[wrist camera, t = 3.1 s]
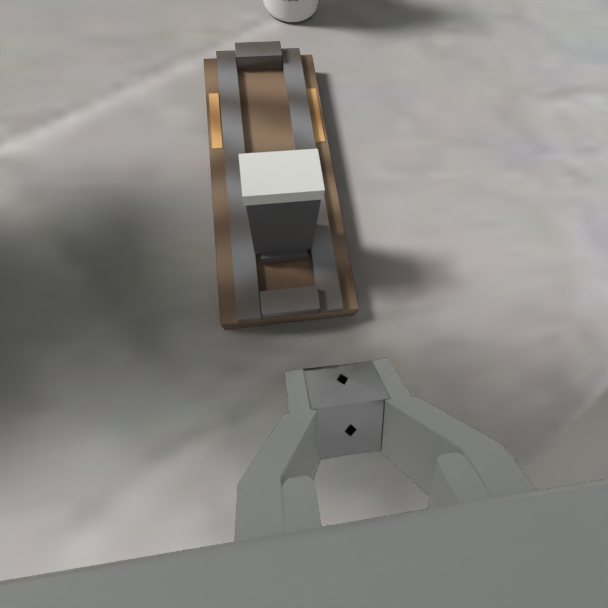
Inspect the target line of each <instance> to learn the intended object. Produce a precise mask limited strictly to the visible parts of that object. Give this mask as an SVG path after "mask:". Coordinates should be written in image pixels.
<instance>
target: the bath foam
mask: <svg viewBox="0 0 608 608" xmlns="http://www.w3.org/2000/svg"><path fill="white" fill-rule="evenodd" d="M263 2H264V6H265V8H266V9H267V11H268V12H269V13H270V14H271V15H272V16H273V17H275V18H277V19H279V20H281V21H285V22H300V21H303V20H306V19H308V18H309V17H311V16H312V15H313V14H314V12H315V11H316V9H317V6H318V0H263Z"/></svg>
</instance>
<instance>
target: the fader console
mask: <svg viewBox="0 0 608 608" xmlns="http://www.w3.org/2000/svg"><path fill="white" fill-rule="evenodd" d="M235 49H236V54H235V50H234V51H216V55H217V59H204V71H205V87H206V103H207V118H208V134H209V150H210V166H211V181H212V197H213V213H214V229H215V244H216V260H217V276H218V292H219V307H220V323H221V326H222V327H223V328H224V329H233V328H242V327H251V326H259V325H268V324H277V323H286V322H295V321H303V320H312V319H321V318H330V317H339V316H347V315H354V314H355V313H356V312H357V310H358V303H357V298H356V292H355V287H354V281H353V276H352V270H351V265H350V259H349V254H348V249H347V243H346V238H345V232H344V227H343V221H342V216H341V210H340V205H339V199H338V194H337V188H336V183H335V178H334V172H333V167H332V161H331V156H330V150H329V145H328V139H327V134H326V128H325V123H324V118H323V112H322V107H321V101H320V96H319V90H318V85H317V79H316V74H315V68H314V63H313V57H312V55H300V50H299V48H287V49H281V44H280V41H273V42H245V43H235ZM304 149H318V153H319V159H320V165H321V171H322V176H323V182H324V188H325V192H324V197H323V199H321V203H320V208H319V214H318V219H317V225H316V230H315V236H314V241H313V247H312V249H307V259H306V260H300V261H290V262H280V263H269V264H262V261H261V253H259V254H255V252H254V247H253V242H252V236H251V231H250V226H249V220H248V215H247V209H246V206H244V203H243V197H242V187H241V177H240V166H239V155H238V154H244V153H259V152H274V151H289V150H304Z"/></svg>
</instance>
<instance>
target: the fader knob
mask: <svg viewBox="0 0 608 608" xmlns="http://www.w3.org/2000/svg"><path fill="white" fill-rule="evenodd" d="M238 155H239V166H240V177H241V187H242V197H243V203H244V206H246V209H247V215H248V220H249V226H250V231H251V236H252V242H253V247H254V252H255V254H259V253H261V261H262V264H269V263H280V262H290V261H300V260H306V259H307V249H312V247H313V241H314V236H315V230H316V225H317V219H318V214H319V208H320V203H321V199H323V197H324V192H325V188H324V182H323V176H322V171H321V165H320V159H319V153H318V149H304V150H289V151H274V152H259V153H244V154H238Z"/></svg>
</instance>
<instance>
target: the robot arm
mask: <svg viewBox="0 0 608 608" xmlns="http://www.w3.org/2000/svg"><path fill="white" fill-rule="evenodd" d="M285 380H286V389H287V398H288V408H289V413H287V414H284V415H283V417H282V418H281V420H280V421H279V423H278V424H277V426H276V427H275V429H274V430H273V432H272V433H271V435H270V436H269V438H268V439H267V441H266V442H265V444H264V445H263V447H262V448H261V450H260V451H259V453H258V454H257V456H256V457H255V459H254V460H253V462H252V463H251V465H250V466H249V468H248V469H247V471H246V472H245V474H244V475H243V477H242V478H241V480H240V481H239V483H238V486H237V504H236V522H235V541H234V542H229V543H223V544H217V545H211V546H205V547H200V548H194V549H188V550H182V551H176V552H170V553H164V554H158V555H152V556H146V557H140V558H134V559H128V560H122V561H117V562H111V563H105V564H99V565H93V566H87V567H81V568H75V569H69V570H63V571H57V572H51V573H45V574H40V575H34V576H28V577H22V578H16V579H10V580H4V581H0V608H608V479H602V480H597V481H590V482H584V483H578V484H572V485H566V486H560V487H554V488H549V489H543V490H537V489H536V488H535V487H534V486H533V484H532V483H531V482H530V481H529V479H528V478H527V476H526V475H525V474H524V473H523V471H522V470H521V469H520V467H519V466H518V465H517V464H516V462H515V461H514V460H513V458H512V457H511V456H510V454H509V453H508V452H507V451H506V449H505V448H504V447H503V445H502V444H500V443H499V442H497V441H495V440H493V439H492V438H490V437H488V436H486V435H485V434H483V433H481V432H479V431H478V430H476V429H474V428H472V427H470V426H469V425H467V424H465V423H463V422H462V421H460V420H458V419H456V418H455V417H453V416H451V415H449V414H448V413H446V412H444V411H442V410H441V409H439V408H437V407H435V406H433V405H432V404H430V403H428V402H426V401H425V400H423V399H421V398H419V397H418V396H410V394H409V392H408V390H407V389H406V387H405V385H404V384H403V382H402V380H401V379H400V377H399V375H398V373H397V372H396V370H395V368H394V367H393V365H392V363H391V361H390V360H389V359H388V358H383V359H377V360H370V361H366V362H359V363H351V364H344V365H335V366H326V367H316V368H307V369H303V370H302V369H300V370H291V371H285ZM381 450H382V451H381ZM373 451H381V452H382V453H383V454H384V455H385V456H386V457H387V458H388V459H389V460H391V461H392V462H393V463H394V464H395V465H396V466H397V467H398V468H399V469H400V470H401V471H402V472H404V473H405V474H406V475H407V476H408V477H409V478H410V479H411V480H412V481H413V482H414V483H415V484H417V485H418V486H419V487H420V488H421V489H422V490H423V491H424V492H425V493H426V494H427V495H428V496H429V497H430V498H429V504H428V509H425V510H419V511H413V512H407V513H401V514H395V515H390V516H384V517H378V518H372V519H366V520H360V521H354V522H348V523H342V524H336V525H330V526H324V527H322V525H321V520H320V514H319V508H318V503H317V497H316V491H315V486H314V480H313V479H314V476H315V474H316V471H317V469H318V466H319V464H320V460H322V459H327V458H333V457H338V456H344V455H349V454H357V453H365V452H373Z"/></svg>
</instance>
